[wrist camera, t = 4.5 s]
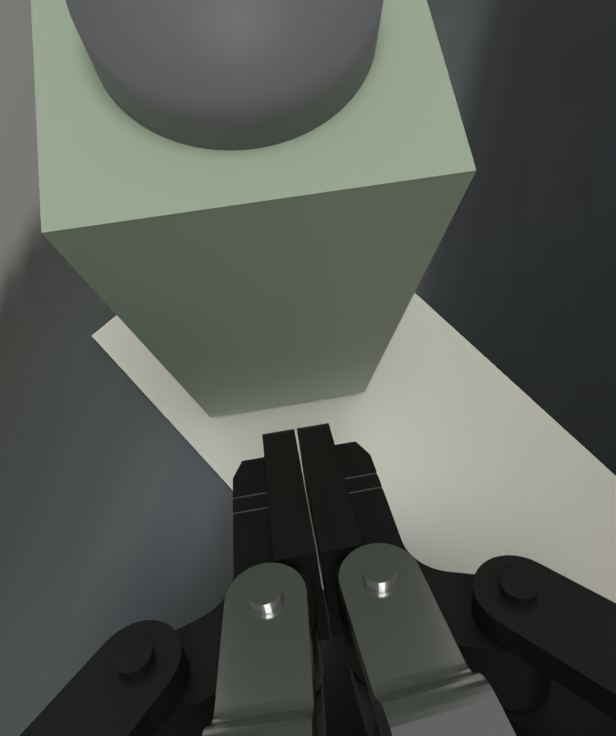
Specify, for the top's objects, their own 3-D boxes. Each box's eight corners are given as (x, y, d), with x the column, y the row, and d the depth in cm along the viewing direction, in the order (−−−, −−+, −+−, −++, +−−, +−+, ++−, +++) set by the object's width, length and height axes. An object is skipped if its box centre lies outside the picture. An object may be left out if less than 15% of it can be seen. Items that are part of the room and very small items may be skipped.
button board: (972, 809, 15) (990, 817, 15) (800, 1109, 13) (814, 1126, 13) (285, 181, 20) (285, 175, 20) (96, 339, 19) (91, 335, 18)
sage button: (336, 252, 19) (396, -208, 7) (364, 391, 17) (500, 122, 6) (192, 273, 18) (-6, -166, 7) (209, 417, 17) (3, 192, 5)
